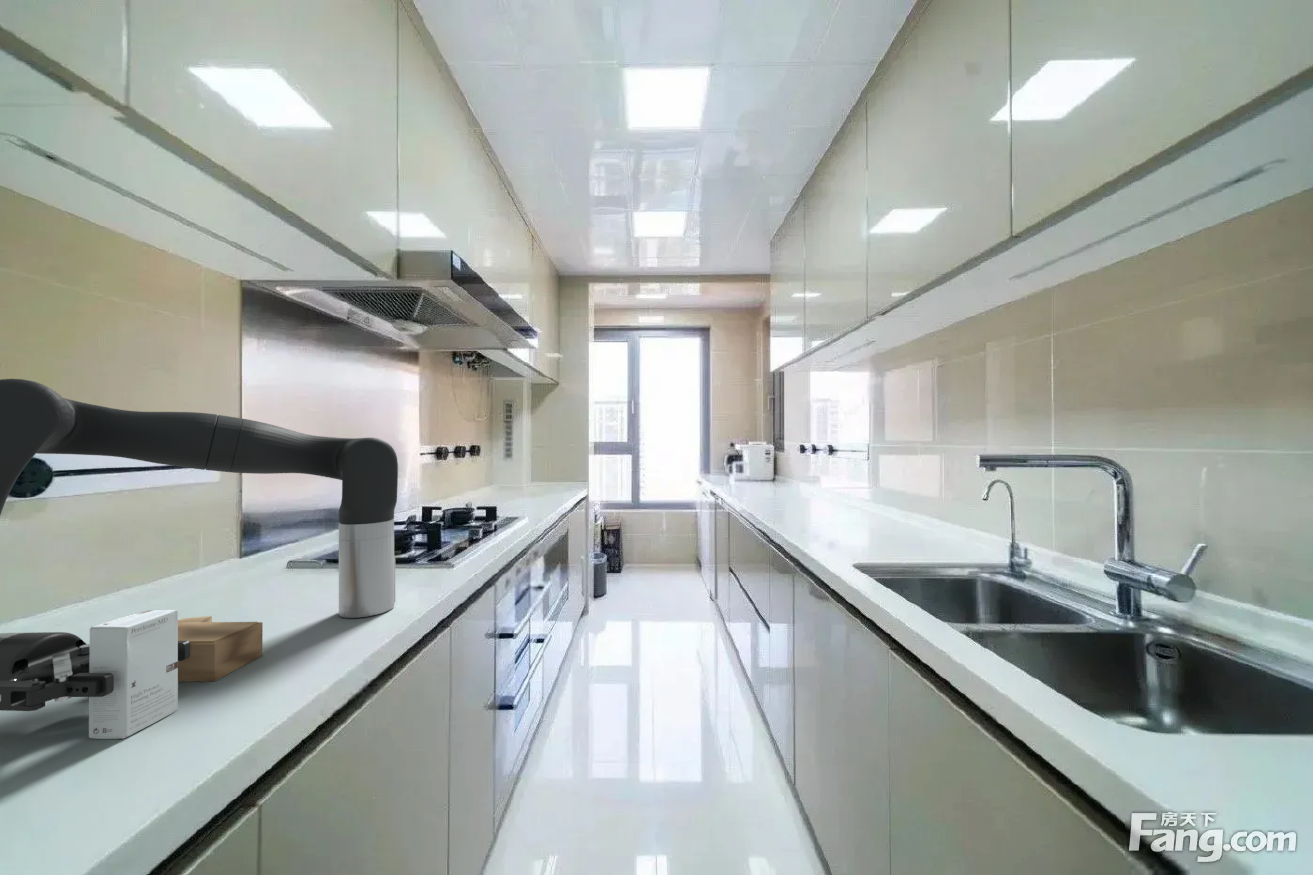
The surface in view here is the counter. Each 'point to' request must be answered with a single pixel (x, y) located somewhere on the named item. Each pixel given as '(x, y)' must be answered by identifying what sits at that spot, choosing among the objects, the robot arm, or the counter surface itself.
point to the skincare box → (134, 672)
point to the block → (196, 619)
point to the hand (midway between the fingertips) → (152, 666)
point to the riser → (218, 648)
